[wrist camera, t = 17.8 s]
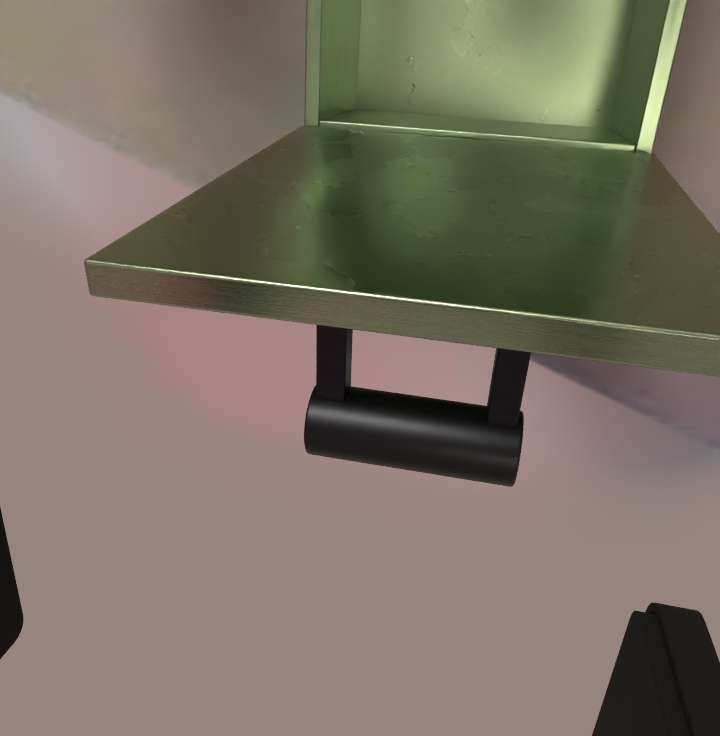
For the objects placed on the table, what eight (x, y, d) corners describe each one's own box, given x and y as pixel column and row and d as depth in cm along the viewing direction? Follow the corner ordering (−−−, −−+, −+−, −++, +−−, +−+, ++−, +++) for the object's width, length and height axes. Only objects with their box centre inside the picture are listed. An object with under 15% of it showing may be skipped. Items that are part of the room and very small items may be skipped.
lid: (81, 259, 13) (122, 474, 16) (815, 347, 11) (714, 578, 13) (300, 125, 26) (301, 256, 28) (655, 153, 24) (619, 292, 26)
